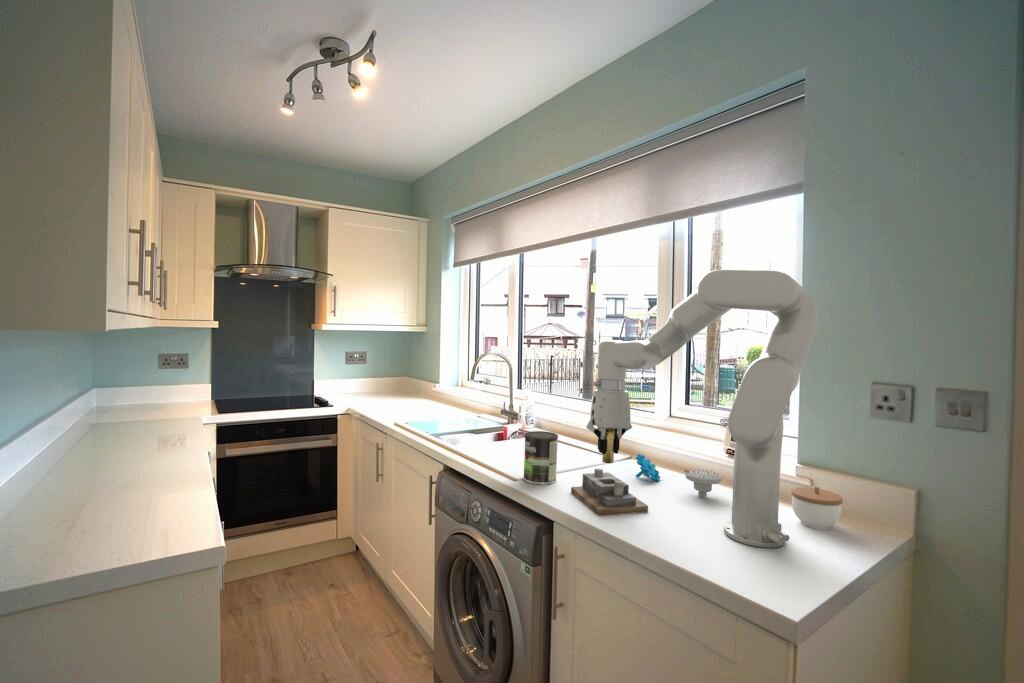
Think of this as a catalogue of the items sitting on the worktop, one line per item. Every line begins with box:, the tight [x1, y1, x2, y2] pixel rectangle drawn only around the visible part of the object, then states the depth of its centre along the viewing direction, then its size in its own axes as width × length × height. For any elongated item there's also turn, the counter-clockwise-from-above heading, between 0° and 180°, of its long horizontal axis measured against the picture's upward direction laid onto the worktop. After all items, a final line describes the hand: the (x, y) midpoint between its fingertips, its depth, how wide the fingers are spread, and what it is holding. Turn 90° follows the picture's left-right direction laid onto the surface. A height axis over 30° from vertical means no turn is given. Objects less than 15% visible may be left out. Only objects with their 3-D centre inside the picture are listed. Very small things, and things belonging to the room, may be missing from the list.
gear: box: [635, 453, 661, 482], centre depth 156 cm, size 11×6×10 cm
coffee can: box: [523, 430, 559, 486], centre depth 151 cm, size 10×10×14 cm
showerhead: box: [683, 468, 722, 498], centre depth 140 cm, size 9×7×10 cm
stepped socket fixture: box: [570, 468, 649, 516], centre depth 133 cm, size 18×14×7 cm
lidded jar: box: [791, 486, 844, 530], centre depth 121 cm, size 11×11×9 cm
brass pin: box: [601, 428, 615, 464], centre depth 133 cm, size 3×3×10 cm
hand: (608, 452), depth 133 cm, fingers closed on brass pin, 3 cm apart
